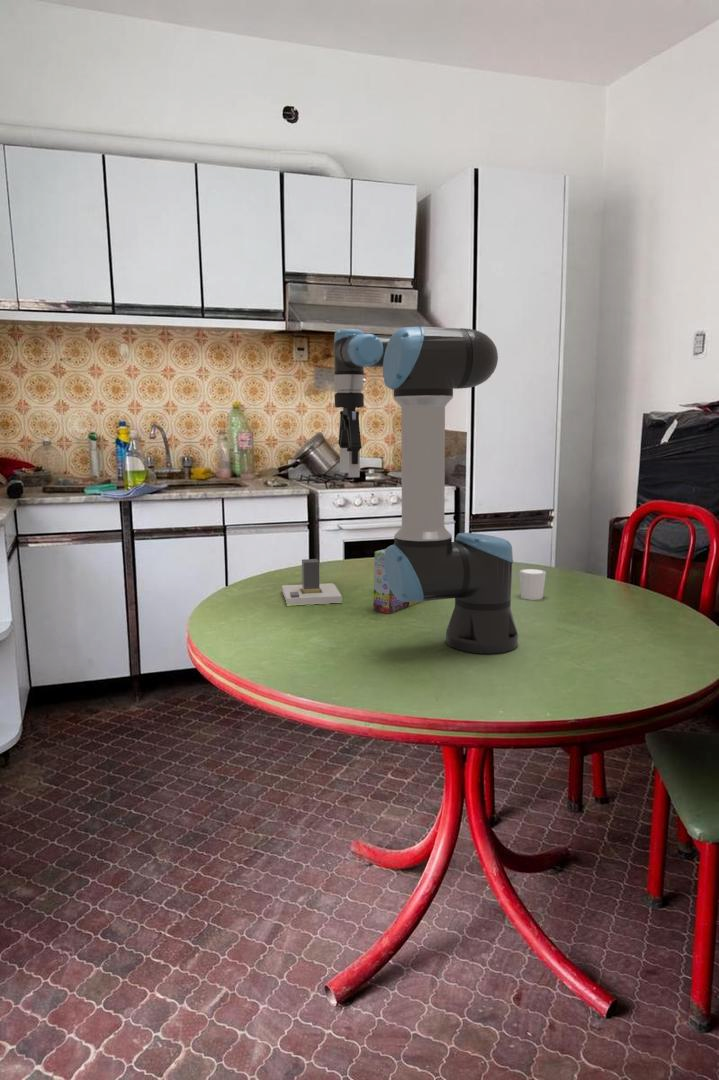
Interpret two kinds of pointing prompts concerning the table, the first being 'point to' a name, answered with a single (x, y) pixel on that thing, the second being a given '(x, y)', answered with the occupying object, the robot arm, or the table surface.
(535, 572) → the white cup
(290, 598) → the socket plate
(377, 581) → the snack box
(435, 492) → the robot arm
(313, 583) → the plug
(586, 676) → the table surface
